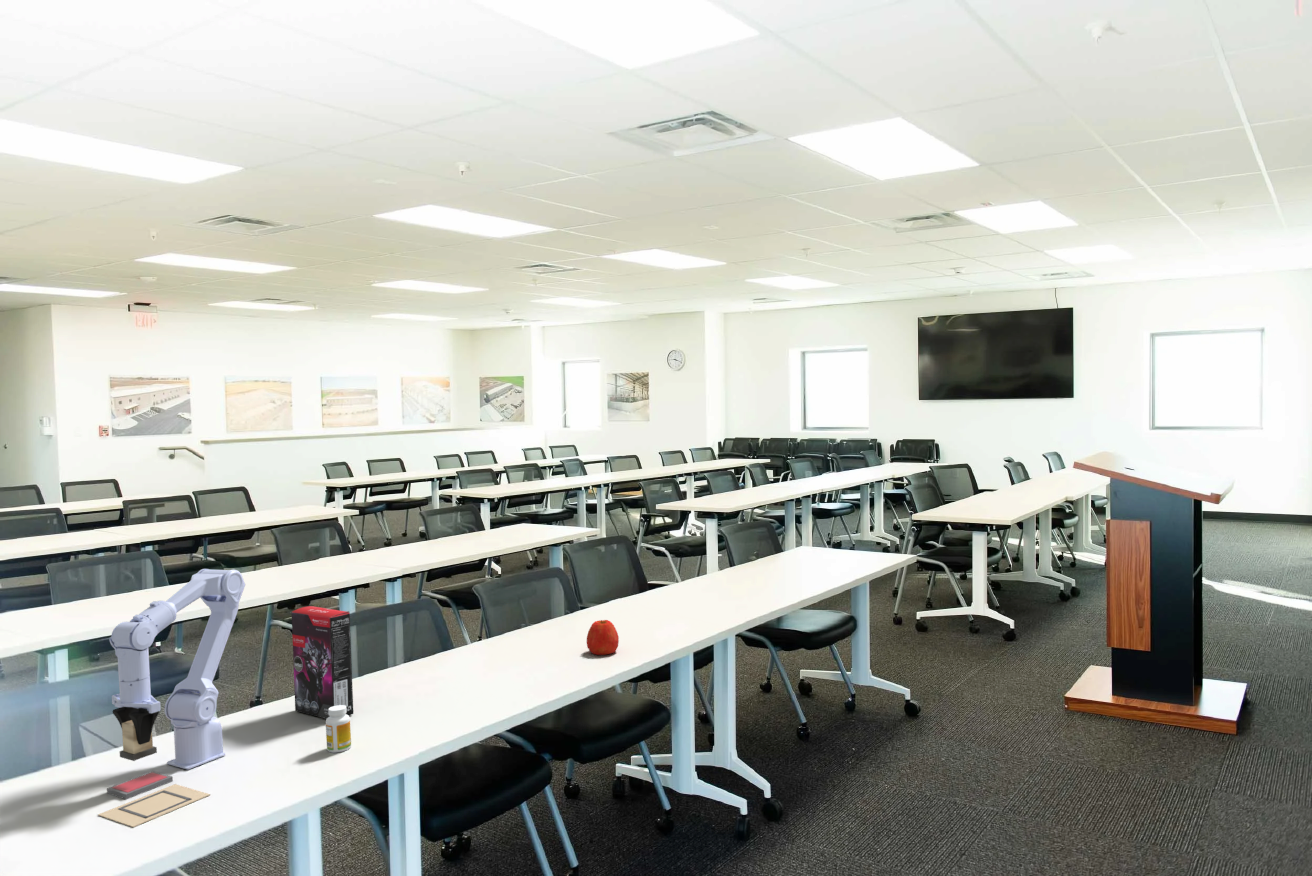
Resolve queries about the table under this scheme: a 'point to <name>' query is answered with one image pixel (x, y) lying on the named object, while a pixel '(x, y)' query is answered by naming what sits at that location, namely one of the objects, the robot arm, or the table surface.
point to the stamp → (134, 744)
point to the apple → (602, 638)
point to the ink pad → (139, 784)
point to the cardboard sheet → (153, 805)
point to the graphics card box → (322, 660)
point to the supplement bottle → (338, 729)
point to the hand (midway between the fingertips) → (137, 741)
